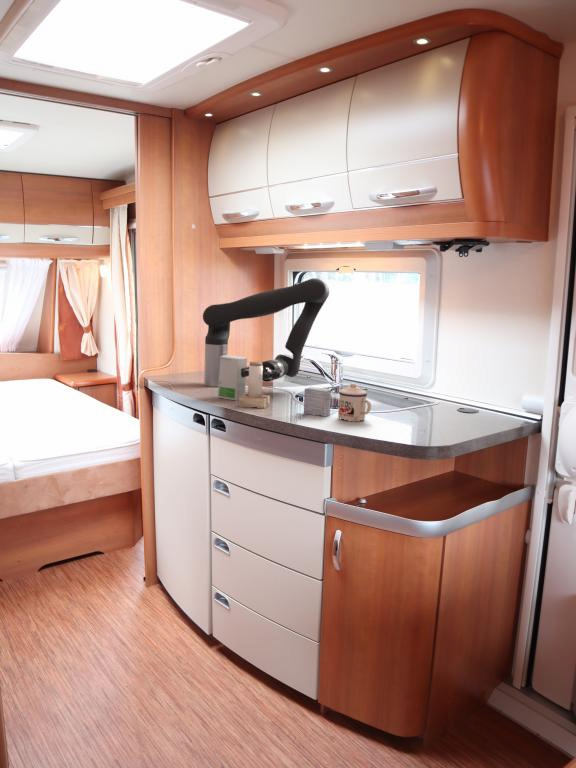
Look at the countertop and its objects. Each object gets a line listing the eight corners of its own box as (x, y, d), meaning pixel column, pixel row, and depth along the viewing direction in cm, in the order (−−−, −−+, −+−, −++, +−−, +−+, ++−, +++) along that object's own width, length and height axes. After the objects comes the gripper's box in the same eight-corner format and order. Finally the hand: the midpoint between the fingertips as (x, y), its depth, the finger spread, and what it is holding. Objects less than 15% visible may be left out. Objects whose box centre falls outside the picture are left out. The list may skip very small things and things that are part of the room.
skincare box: (217, 398, 226) (218, 356, 224) (227, 395, 232) (228, 354, 230) (236, 400, 222) (238, 358, 220) (246, 398, 228) (247, 356, 226)
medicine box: (330, 415, 205) (331, 389, 204) (324, 417, 201) (325, 391, 200) (309, 411, 209) (310, 386, 207) (303, 413, 205) (304, 388, 204)
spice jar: (249, 394, 218) (251, 361, 216) (263, 395, 217) (264, 362, 215) (246, 397, 213) (247, 362, 211) (260, 398, 212) (261, 363, 211)
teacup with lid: (331, 418, 200) (333, 382, 198) (349, 414, 206) (351, 380, 204) (360, 425, 191) (362, 388, 190) (378, 421, 198) (380, 385, 196)
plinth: (245, 402, 221) (245, 393, 220) (269, 403, 219) (270, 395, 219) (238, 406, 212) (239, 397, 212) (264, 408, 211) (264, 399, 210)
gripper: (253, 358, 229) (234, 363, 214) (289, 361, 224) (272, 366, 209) (252, 378, 230) (234, 384, 215) (288, 382, 225) (272, 388, 210)
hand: (253, 375), depth 212 cm, fingers open, 8 cm apart
